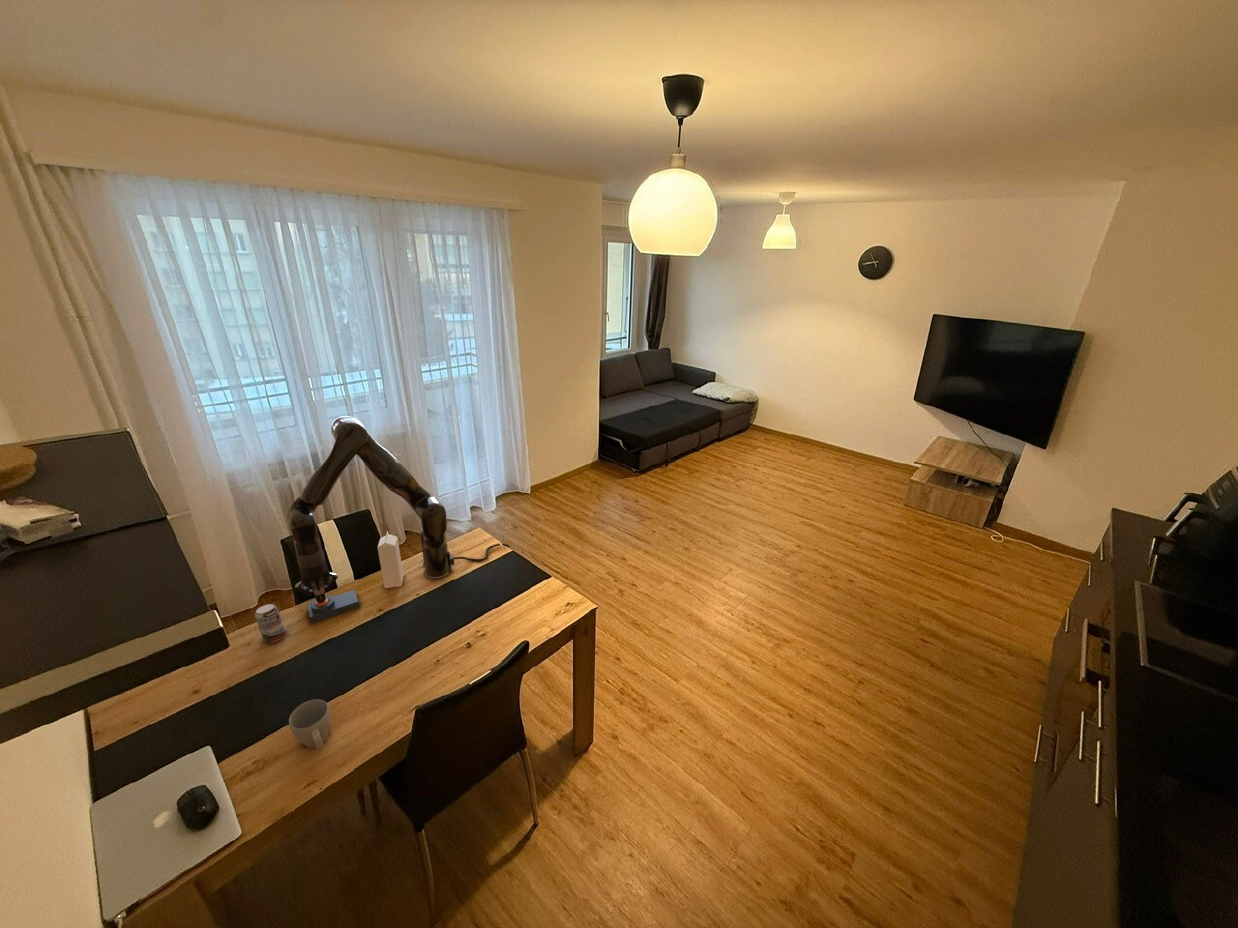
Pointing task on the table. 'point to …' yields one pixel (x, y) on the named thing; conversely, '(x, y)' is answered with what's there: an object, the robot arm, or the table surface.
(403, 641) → the table surface
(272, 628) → the beverage can
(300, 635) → the table surface
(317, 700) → the mug
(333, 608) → the button base
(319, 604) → the release button
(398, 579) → the milk
